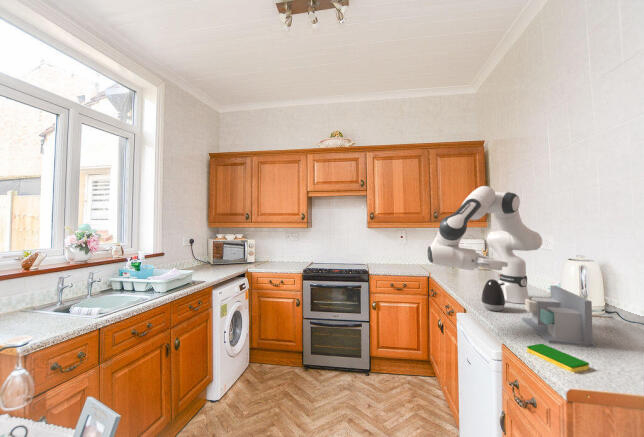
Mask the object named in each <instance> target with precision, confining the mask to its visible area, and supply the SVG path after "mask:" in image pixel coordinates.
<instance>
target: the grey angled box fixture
mask: <svg viewBox="0 0 644 437" xmlns="http://www.w3.org/2000/svg"><path fill="white" fill-rule="evenodd" d="M530 301H536V302H537V311H533V312H531V318H530V317H522V318H521V320H522V321H523V322H524V323H525V324H526V325H527V326H528V327H530V328H531V329H532V330H533V331H535V332H536V334H538V335H539V336H540V337H541V338H542V339H544V340H545V341H546V342H547V343H549V344H556V345H557V344H558V345H560V344H561V345H567V346H569V345H570V346H577V347H578V346H580V347H588V348H597V343H595V342H594V337H593V334H594V332H593V305H592V304H593V302H592V300H589V299H587V298H585V297H583V296H580V295H578V294H575V293H574V292H571V291H568V290H566V289H564V288H561V287H559V286H558V285H550V298H548V297H547V298H546V297H545V298H544V297H531V299H530ZM540 309H544V310H546V311H552V312H553V313H554V323H550V324H545V323H543V322H542V321H541V320H540Z"/></svg>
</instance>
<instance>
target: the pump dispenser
mask: <svg viewBox="0 0 644 437" xmlns="http://www.w3.org/2000/svg"><path fill="white" fill-rule="evenodd" d="M497 281H498V280H496V279H493V278H491V279H488V280H487V281H486V282H485V284H484V286H483V289H482V293H481V302H482V305H483V306H484V308H485V309H486V310H489V311H491V310H492V312H499V311H502V310H503V309H504V307H505V305H506V302H505V297H504V293H503V290H502V288H501V285H505V283H498V282H497Z"/></svg>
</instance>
